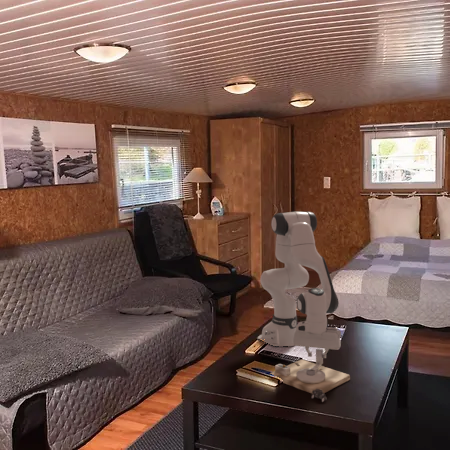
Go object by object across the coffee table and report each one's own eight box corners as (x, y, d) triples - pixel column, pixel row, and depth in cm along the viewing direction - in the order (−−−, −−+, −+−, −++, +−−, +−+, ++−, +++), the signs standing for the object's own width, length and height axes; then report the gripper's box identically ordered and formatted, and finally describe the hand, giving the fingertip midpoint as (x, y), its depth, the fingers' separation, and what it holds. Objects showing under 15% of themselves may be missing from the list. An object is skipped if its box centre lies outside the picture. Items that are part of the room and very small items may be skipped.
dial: (319, 385, 212) (319, 364, 211) (291, 379, 218) (291, 359, 217) (335, 368, 229) (335, 349, 228) (309, 364, 235) (309, 345, 234)
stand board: (269, 377, 227) (269, 364, 226) (301, 363, 242) (301, 351, 241) (318, 396, 208) (318, 381, 207) (349, 379, 223) (350, 366, 222)
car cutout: (306, 400, 205) (306, 389, 205) (315, 395, 210) (315, 384, 210) (341, 412, 195) (341, 400, 195) (349, 405, 200) (349, 394, 200)
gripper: (342, 326, 226) (342, 356, 228) (295, 322, 233) (295, 352, 235) (339, 330, 220) (340, 362, 222) (292, 326, 228) (292, 357, 229)
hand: (316, 357), depth 228 cm, fingers open, 5 cm apart
